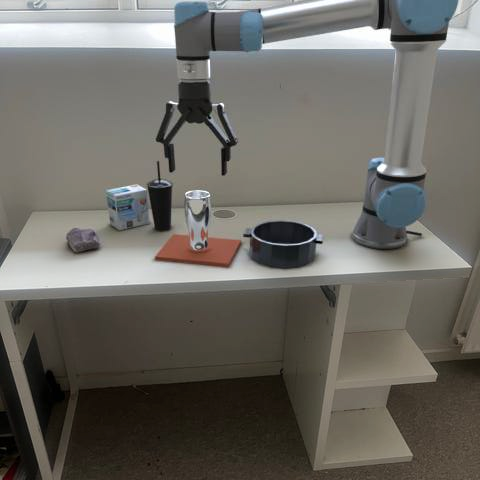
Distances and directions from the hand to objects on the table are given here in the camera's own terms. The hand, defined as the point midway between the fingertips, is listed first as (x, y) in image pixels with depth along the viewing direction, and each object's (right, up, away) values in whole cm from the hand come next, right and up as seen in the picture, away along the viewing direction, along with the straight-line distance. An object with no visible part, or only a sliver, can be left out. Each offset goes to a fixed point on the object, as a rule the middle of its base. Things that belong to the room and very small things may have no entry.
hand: (198, 172), depth 128 cm
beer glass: (-1, -18, +11) cm, 21 cm away
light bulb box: (-23, -8, +28) cm, 38 cm away
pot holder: (-1, -18, +11) cm, 22 cm away
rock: (-33, -17, +14) cm, 39 cm away
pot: (+22, -19, +10) cm, 31 cm away
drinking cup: (-13, -9, +26) cm, 30 cm away
